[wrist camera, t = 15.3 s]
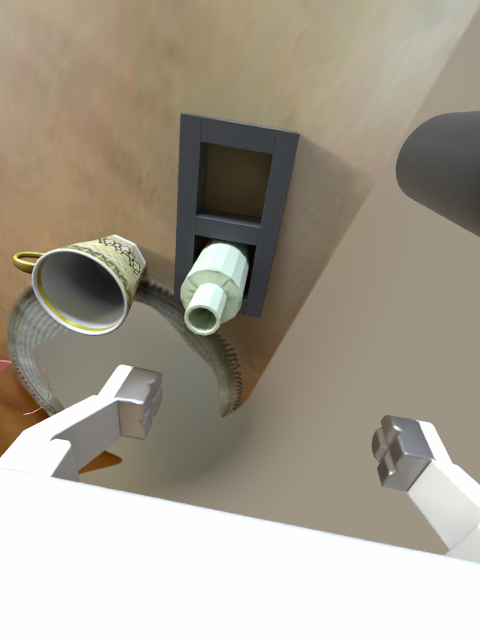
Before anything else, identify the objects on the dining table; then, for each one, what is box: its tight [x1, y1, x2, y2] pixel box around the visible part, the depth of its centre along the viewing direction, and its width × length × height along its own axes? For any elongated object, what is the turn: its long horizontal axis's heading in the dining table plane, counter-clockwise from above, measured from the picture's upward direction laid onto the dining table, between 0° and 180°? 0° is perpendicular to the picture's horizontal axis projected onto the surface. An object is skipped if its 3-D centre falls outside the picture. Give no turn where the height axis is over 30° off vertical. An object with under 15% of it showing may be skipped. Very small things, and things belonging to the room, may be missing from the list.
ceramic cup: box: [13, 235, 146, 336], centre depth 36 cm, size 13×10×10 cm
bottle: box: [181, 238, 250, 335], centre depth 33 cm, size 6×6×15 cm
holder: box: [174, 113, 300, 317], centre depth 35 cm, size 11×20×4 cm, turn 172°
